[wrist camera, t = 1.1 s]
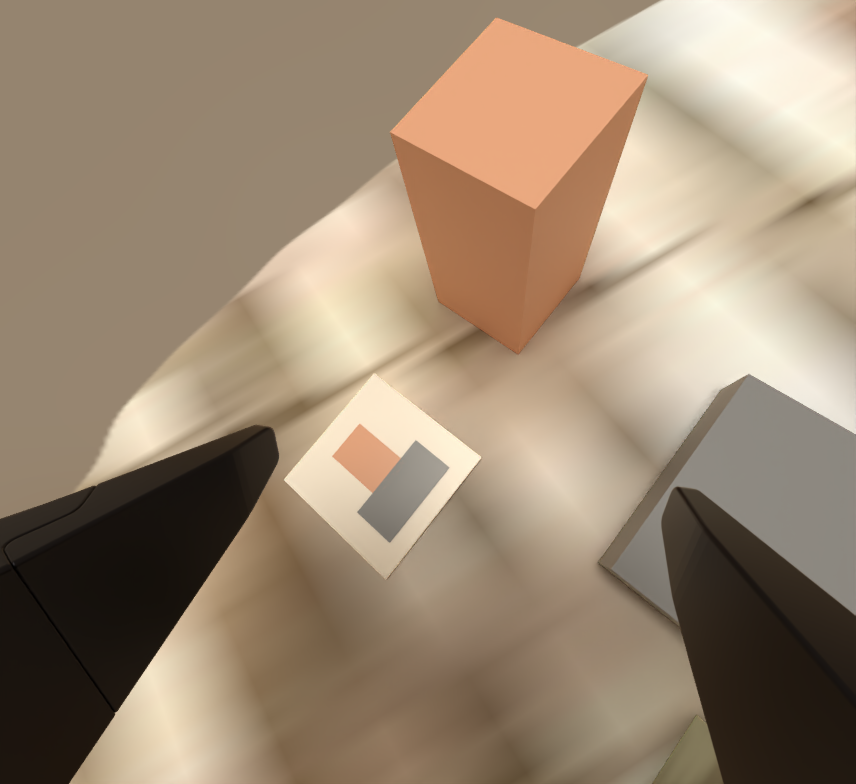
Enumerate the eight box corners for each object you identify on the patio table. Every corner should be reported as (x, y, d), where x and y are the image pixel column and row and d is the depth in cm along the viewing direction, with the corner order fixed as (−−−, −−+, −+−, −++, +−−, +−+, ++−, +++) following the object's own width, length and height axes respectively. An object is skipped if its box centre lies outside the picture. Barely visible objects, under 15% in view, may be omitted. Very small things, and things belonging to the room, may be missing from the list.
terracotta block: (518, 354, 24) (535, 209, 12) (438, 301, 26) (390, 131, 14) (579, 277, 25) (648, 75, 13) (497, 231, 26) (496, 17, 15)
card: (387, 578, 22) (384, 579, 21) (286, 480, 24) (282, 479, 24) (481, 458, 22) (481, 457, 22) (375, 374, 25) (373, 372, 25)
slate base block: (827, 745, 17) (892, 790, 14) (595, 561, 21) (611, 568, 18) (953, 533, 19) (1035, 536, 16) (716, 392, 22) (748, 374, 19)
